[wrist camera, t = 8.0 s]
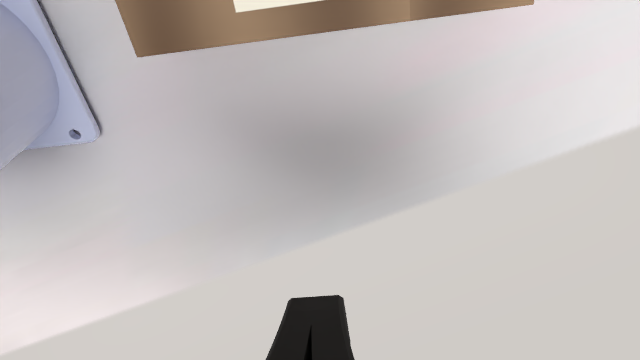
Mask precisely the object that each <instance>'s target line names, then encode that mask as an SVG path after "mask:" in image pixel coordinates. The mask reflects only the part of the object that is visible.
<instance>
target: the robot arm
mask: <svg viewBox="0 0 640 360" xmlns="http://www.w3.org/2000/svg"><path fill="white" fill-rule="evenodd" d="M73 129H74V130H77V131H78V132H79V133H80V134H81V135H78V134H76V133H75V132H74V130H73ZM99 134H100V130H99V127H98V125H97V123H96V121H95V119H94V117H93V115H92V113H91V111H90V109H89V107H88V105H87V103H86V101H85V99H84V97H83V95H82V92H81V90H80V88H79V86H78V84H77V82H76V80H75V78H74V76H73V74H72V72H71V70H70V68H69V66H68V64H67V62H66V59H65V57H64V55H63V53H62V51H61V49H60V47H59V45H58V43H57V41H56V39H55V37H54V35H53V33H52V31H51V29H50V26H49V24H48V22H47V20H46V18H45V16H44V14H43V12H42V10H41V8H40V6H39V4H38V2H37V0H0V170H1V169H2V168H3V167H4V166H5V165H6V164H8V163H9V162H10V161H11V160H12V159H13V158H14V157H16V156H17V155H18V154H19V153H20V152H21V151H22V150H28V149H37V148H46V147H54V146H63V145H72V144H80V143H89V142H93V141H95V140H96V139H97V137H98V136H99ZM266 360H354V357H353V353H352V349H351V346H350V337H349V331H348V324H347V318H346V312H345V306H344V300H343V298H342V297H341V296H339V295H334V296H318V297H303V298H291V299H290V300H289V301H288V303H287V307H286V310H285V313H284V316H283V319H282V321H281V324H280V327H279V330H278V332H277V335H276V337H275V339H274V342H273V344H272V347H271V349H270V351H269V353H268V356H267V358H266Z"/></svg>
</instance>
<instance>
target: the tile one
mask: <svg viewBox="0 0 640 360" xmlns="http://www.w3.org/2000/svg"><path fill="white" fill-rule="evenodd" d="M315 1H322V0H233V2H234V6H235V10H236V13H237V12H244V11H251V10H258V9H266V8H273V7H280V6H287V5H294V4H301V3H308V2H315Z"/></svg>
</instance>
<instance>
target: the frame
mask: <svg viewBox="0 0 640 360" xmlns="http://www.w3.org/2000/svg"><path fill="white" fill-rule="evenodd" d="M115 1H116V4H117V6H118V9H119V11H120V14H121V17H122V19H123V22H124V24H125V27H126V30H127V32H128V35H129V37H130V40H131V42H132V45H133V48H134V50H135V53H136V55H137V57H144V56H151V55H159V54H166V53H174V52H181V51H189V50H196V49H204V48H211V47H219V46H226V45H234V44H241V43H249V42H256V41H264V40H271V39H279V38H286V37H294V36H301V35H308V34H316V33H323V32H331V31H338V30H346V29H353V28H361V27H368V26H376V25H383V24H391V23H398V22H406V21H413V20H421V19H428V18H436V17H443V16H451V15H458V14H466V13H473V12H481V11H488V10H495V9H503V8H510V7H518V6H525V5H533V4H534V0H322V1H315V2H308V3H301V4H294V5H287V6H280V7H273V8H266V9H258V10H251V11H244V12H237V13H236V10H235V6H234V2H233V0H115Z"/></svg>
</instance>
